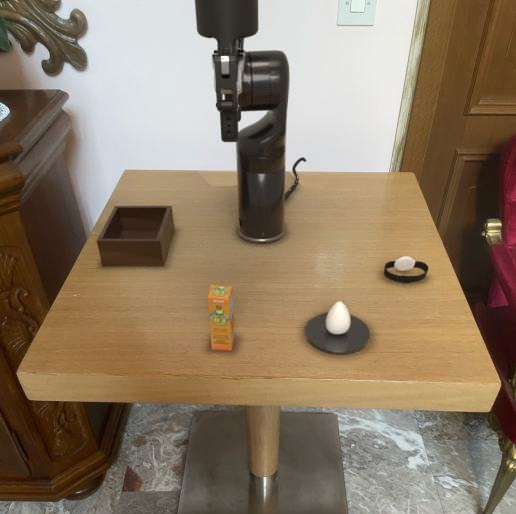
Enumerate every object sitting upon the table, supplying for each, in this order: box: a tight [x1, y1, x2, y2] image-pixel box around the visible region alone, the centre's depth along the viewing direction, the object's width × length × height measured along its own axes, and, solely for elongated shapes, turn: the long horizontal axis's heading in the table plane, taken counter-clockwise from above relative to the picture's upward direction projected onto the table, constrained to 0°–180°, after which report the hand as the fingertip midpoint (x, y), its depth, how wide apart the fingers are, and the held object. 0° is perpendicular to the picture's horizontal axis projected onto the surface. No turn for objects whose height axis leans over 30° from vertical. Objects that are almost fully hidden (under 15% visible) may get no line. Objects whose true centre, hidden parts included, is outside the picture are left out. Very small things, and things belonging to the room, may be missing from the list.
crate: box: [96, 205, 176, 267], centre depth 102 cm, size 15×12×5 cm
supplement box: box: [207, 284, 236, 352], centre depth 77 cm, size 3×3×10 cm
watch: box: [383, 255, 429, 284], centre depth 93 cm, size 8×5×4 cm, turn 88°
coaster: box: [304, 312, 371, 356], centre depth 82 cm, size 10×10×1 cm
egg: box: [326, 300, 351, 334], centre depth 80 cm, size 4×4×6 cm
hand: (231, 130), depth 72 cm, fingers open, 8 cm apart
